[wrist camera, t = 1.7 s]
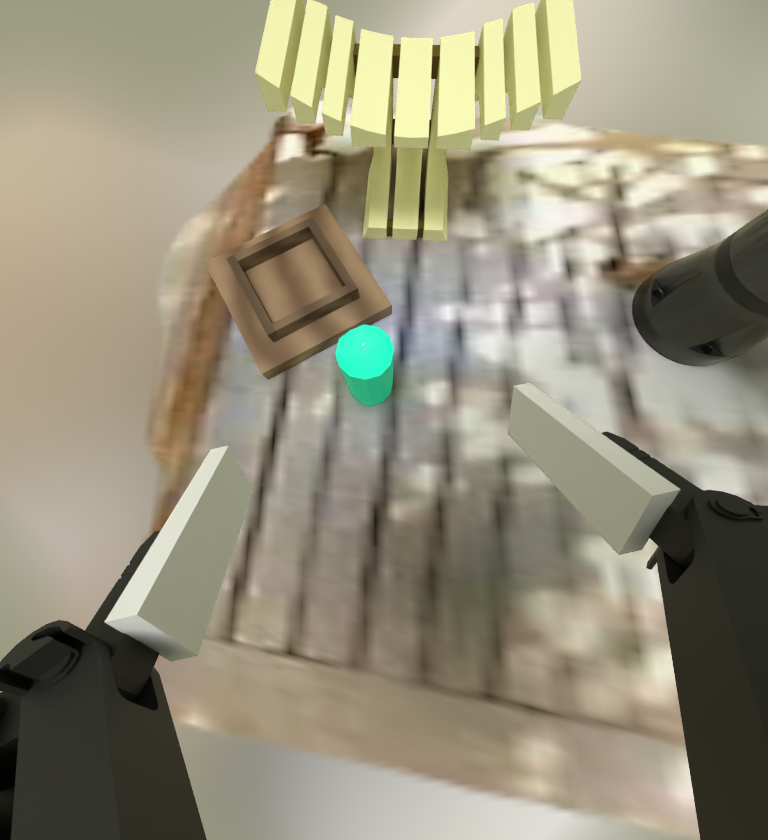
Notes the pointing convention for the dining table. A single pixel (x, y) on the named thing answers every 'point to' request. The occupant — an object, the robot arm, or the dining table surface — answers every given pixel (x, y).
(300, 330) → the brown square tray
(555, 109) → the slatted curved stool
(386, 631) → the dining table surface
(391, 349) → the candle
